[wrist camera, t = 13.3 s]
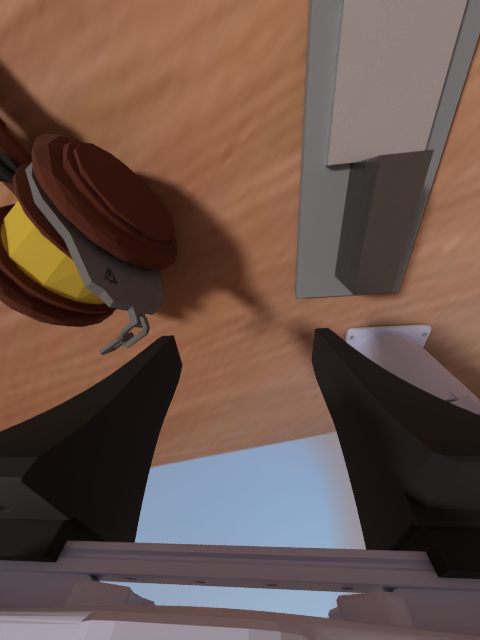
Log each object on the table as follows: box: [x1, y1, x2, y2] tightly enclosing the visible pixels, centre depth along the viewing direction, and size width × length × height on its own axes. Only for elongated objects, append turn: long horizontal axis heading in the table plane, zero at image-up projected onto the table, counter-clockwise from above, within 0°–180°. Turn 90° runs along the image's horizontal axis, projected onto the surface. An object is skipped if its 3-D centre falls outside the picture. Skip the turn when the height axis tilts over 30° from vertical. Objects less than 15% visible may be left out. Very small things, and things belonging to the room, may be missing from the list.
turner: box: [325, 0, 467, 295], centre depth 13 cm, size 15×6×4 cm, turn 5°
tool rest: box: [295, 0, 480, 298], centre depth 15 cm, size 18×9×1 cm, turn 5°
